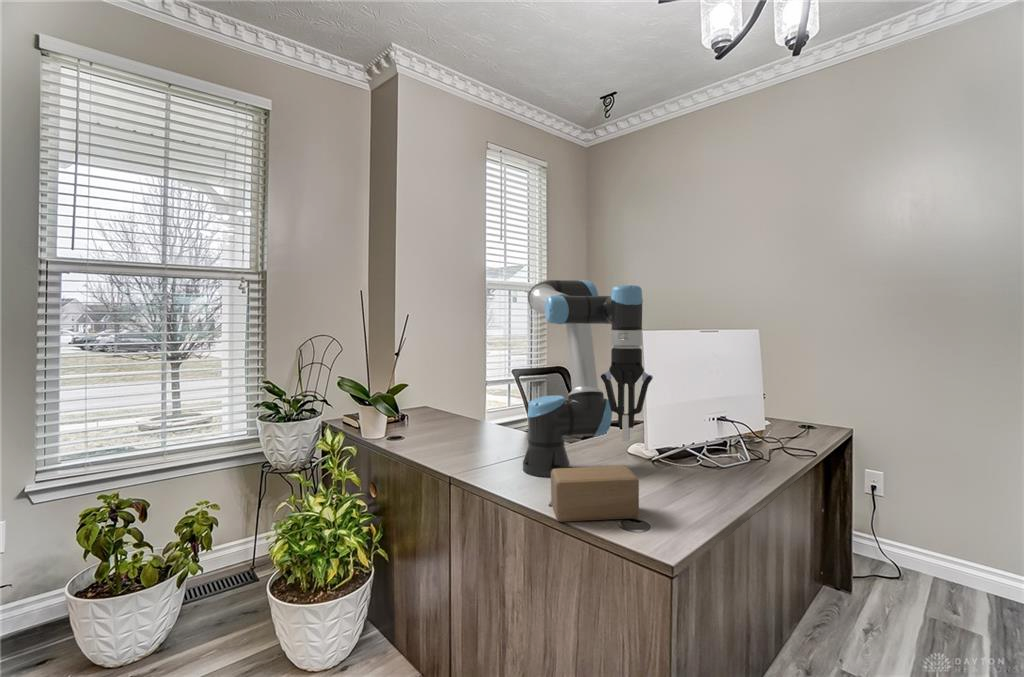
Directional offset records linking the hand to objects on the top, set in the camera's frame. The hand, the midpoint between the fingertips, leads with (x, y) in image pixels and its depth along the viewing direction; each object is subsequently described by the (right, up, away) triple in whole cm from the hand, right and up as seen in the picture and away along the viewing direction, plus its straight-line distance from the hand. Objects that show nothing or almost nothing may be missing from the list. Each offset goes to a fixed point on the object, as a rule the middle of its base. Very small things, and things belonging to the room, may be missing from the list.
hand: (626, 439), depth 121 cm
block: (+1, -12, -3) cm, 12 cm away
